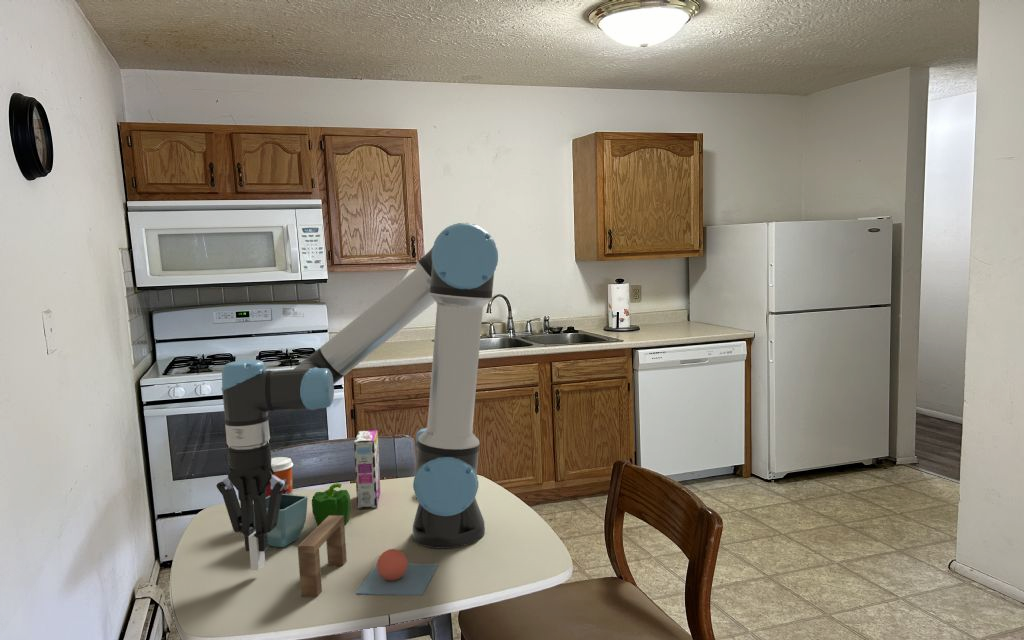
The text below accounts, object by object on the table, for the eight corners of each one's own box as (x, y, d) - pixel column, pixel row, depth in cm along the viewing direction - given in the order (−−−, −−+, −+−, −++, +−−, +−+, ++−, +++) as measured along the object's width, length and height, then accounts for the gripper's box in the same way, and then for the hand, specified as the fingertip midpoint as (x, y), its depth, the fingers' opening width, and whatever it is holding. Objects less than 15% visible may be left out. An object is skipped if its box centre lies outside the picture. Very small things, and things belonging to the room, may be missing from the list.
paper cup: (290, 526, 158) (286, 465, 157) (256, 527, 158) (252, 466, 157) (301, 513, 166) (297, 455, 165) (269, 515, 166) (265, 456, 165)
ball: (395, 538, 132) (376, 558, 133) (386, 550, 127) (366, 571, 127) (416, 558, 132) (398, 578, 133) (408, 571, 126) (389, 592, 127)
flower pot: (311, 536, 152) (308, 495, 151) (285, 553, 144) (282, 510, 143) (277, 532, 155) (274, 492, 154) (250, 548, 147) (247, 506, 146)
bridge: (346, 561, 139) (343, 515, 138) (317, 596, 124) (314, 546, 123) (331, 560, 139) (328, 515, 138) (301, 596, 125) (297, 546, 124)
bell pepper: (304, 533, 154) (301, 488, 153) (326, 519, 162) (323, 477, 161) (338, 537, 151) (335, 491, 150) (358, 522, 159) (355, 479, 158)
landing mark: (437, 565, 135) (437, 564, 135) (422, 595, 123) (422, 594, 123) (376, 564, 137) (376, 563, 137) (355, 594, 125) (355, 593, 125)
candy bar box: (378, 508, 168) (374, 440, 166) (356, 510, 167) (352, 442, 166) (381, 492, 179) (378, 429, 177) (361, 494, 178) (357, 430, 177)
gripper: (204, 450, 128) (215, 575, 130) (272, 449, 126) (282, 576, 129) (226, 439, 136) (235, 558, 138) (291, 438, 134) (299, 559, 136)
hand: (258, 567), depth 133 cm, fingers closed
